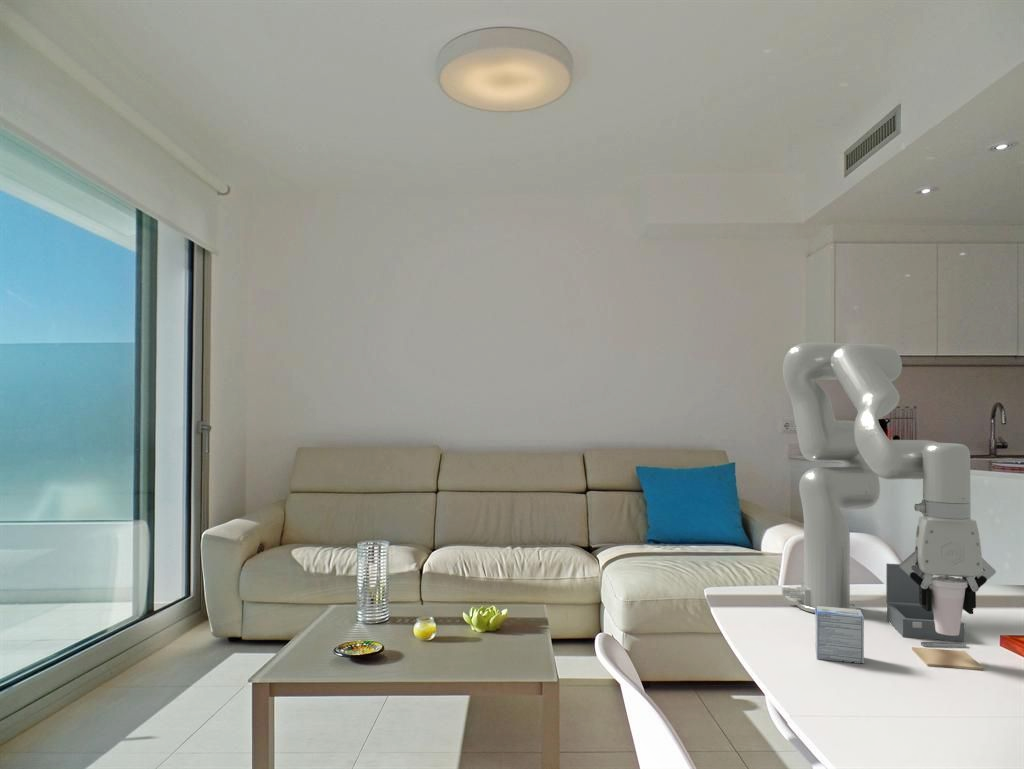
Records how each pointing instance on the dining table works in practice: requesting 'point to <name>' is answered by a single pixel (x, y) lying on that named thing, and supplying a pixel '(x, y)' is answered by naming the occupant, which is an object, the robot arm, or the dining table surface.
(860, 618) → the medicine box
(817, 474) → the robot arm
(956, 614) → the smoothie
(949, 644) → the rod
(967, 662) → the pad
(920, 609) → the case
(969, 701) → the dining table surface
